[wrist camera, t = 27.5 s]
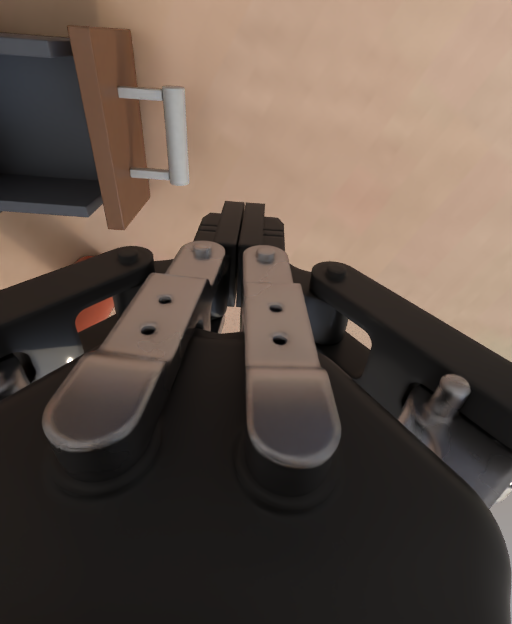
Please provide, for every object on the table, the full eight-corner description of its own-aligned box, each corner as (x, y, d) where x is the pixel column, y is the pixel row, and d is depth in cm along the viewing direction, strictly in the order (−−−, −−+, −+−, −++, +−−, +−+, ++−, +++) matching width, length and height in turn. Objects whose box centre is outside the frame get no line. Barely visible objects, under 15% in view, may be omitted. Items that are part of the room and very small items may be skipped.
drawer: (193, 34, 24) (170, 33, 19) (199, 200, 31) (183, 235, 26) (-72, 13, 24) (-172, 6, 19) (-6, 185, 31) (-66, 216, 25)
